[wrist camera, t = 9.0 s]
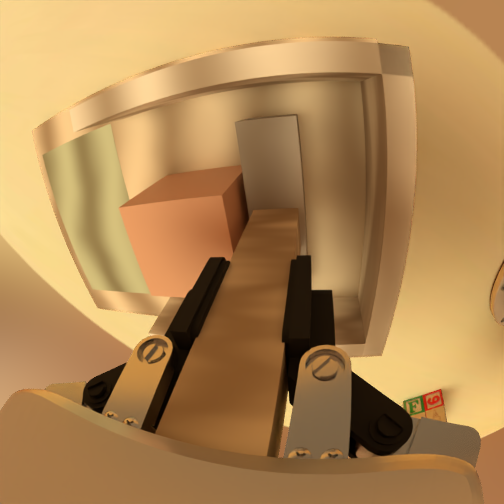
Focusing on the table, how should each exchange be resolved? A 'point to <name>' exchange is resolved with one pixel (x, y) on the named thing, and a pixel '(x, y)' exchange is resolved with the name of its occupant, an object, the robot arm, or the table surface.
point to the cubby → (227, 154)
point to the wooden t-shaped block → (248, 308)
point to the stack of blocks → (427, 406)
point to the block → (185, 226)
